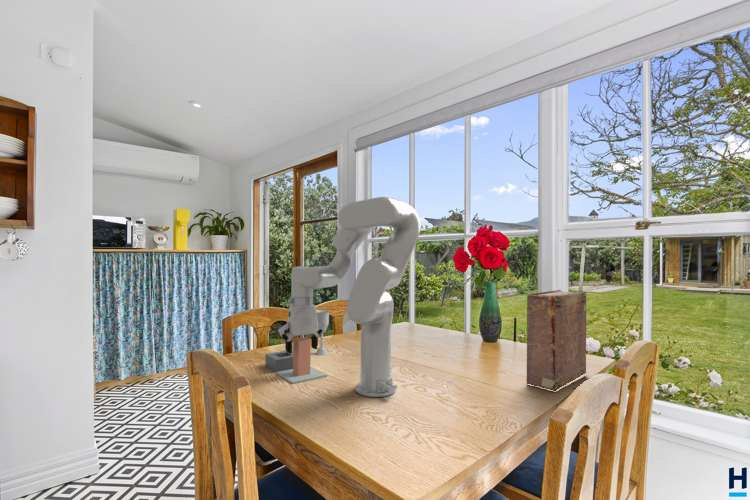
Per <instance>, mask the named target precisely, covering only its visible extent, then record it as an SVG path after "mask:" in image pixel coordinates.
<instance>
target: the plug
mask: <svg viewBox="0 0 750 500" xmlns="http://www.w3.org/2000/svg"><path fill="white" fill-rule="evenodd" d="M292 340H293V341H292V351H293V373H294V374H295V375H297V376H302V375H307V374H310V366H311V349H312V347H311V339H310V338H307V337H305V336H302V337H296V338H292Z"/></svg>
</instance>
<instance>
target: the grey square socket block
mask: <svg viewBox="0 0 750 500" xmlns="http://www.w3.org/2000/svg"><path fill="white" fill-rule="evenodd" d="M264 363H265V365H264V366H265V367H266V368H268V369H269V370H271V371H273V372H275V373H276V372H280V371H285V370H290V369H293V350H292V353H288V352H286V350H283V351H282V350H281V351H277V352H269V353H265V361H264Z"/></svg>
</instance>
